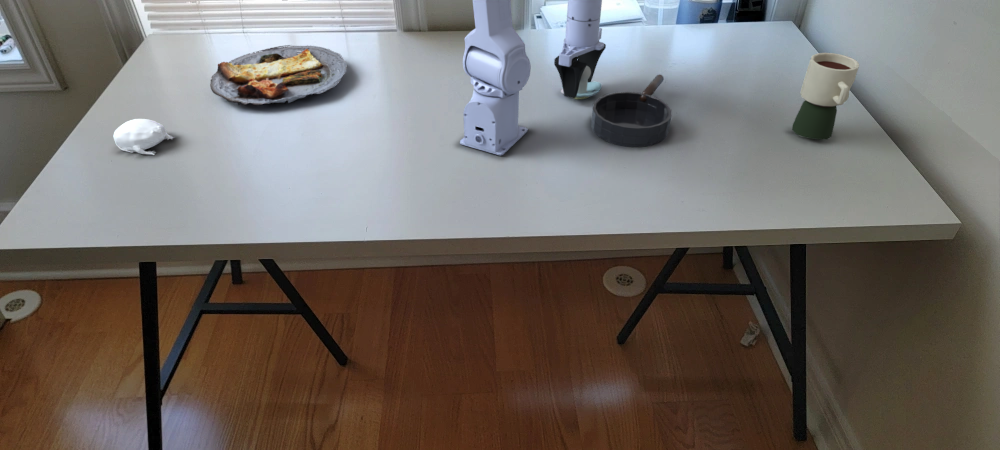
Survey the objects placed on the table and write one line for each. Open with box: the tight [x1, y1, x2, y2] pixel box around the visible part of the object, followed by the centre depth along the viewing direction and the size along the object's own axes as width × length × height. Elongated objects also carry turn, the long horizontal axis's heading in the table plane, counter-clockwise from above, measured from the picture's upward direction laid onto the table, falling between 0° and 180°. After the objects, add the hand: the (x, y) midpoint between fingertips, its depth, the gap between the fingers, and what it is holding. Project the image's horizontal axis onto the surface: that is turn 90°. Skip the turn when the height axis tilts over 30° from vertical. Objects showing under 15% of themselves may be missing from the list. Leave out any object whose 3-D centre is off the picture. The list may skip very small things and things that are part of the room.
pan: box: [590, 91, 673, 148], centre depth 110 cm, size 13×13×4 cm
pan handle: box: [640, 74, 665, 102], centre depth 117 cm, size 10×2×2 cm, turn 151°
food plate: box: [209, 44, 348, 106], centre depth 124 cm, size 25×23×4 cm
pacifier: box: [560, 66, 602, 100], centre depth 119 cm, size 7×6×6 cm
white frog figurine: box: [113, 118, 176, 156], centre depth 105 cm, size 8×7×4 cm
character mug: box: [791, 52, 860, 140], centre depth 105 cm, size 11×7×13 cm, turn 3°
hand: (577, 89), depth 119 cm, fingers closed on pacifier, 6 cm apart
